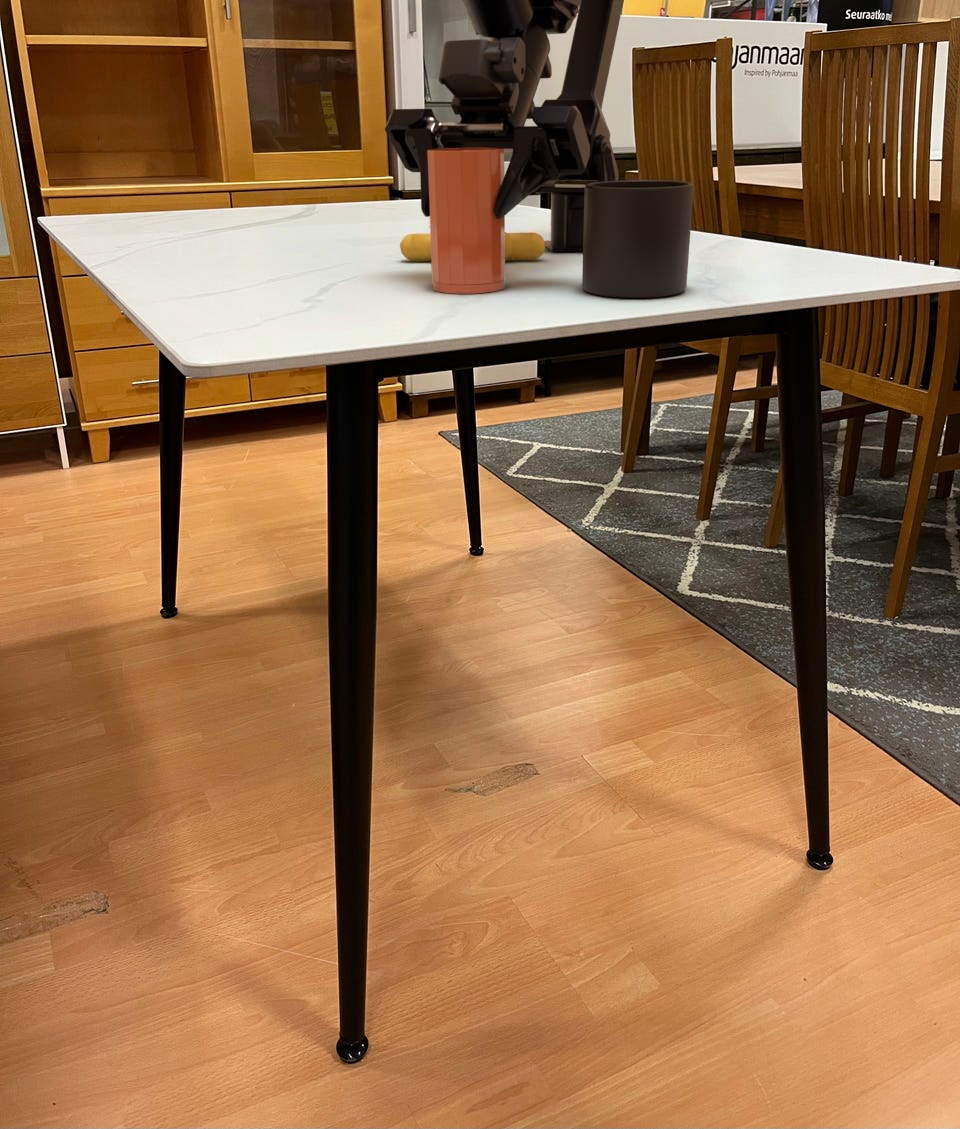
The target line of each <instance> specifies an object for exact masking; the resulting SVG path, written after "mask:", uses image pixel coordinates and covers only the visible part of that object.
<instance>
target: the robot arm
mask: <svg viewBox="0 0 960 1129" xmlns="http://www.w3.org/2000/svg"><path fill="white" fill-rule="evenodd" d="M624 1H625V0H462V2H463V4H464V7H465V10H466V11H467V15H468V17H469V20H470V23H471V25H472V28H473V30H474V33H475V34H476V35H477V36H481V37H484V38H489V40H488V39H482V38H478V39H477V38H476V39H459V40H457V39H455V40H447V41H445V42H444V44H443V49H442V50H443V51H442V55H441V62H440V68H439V74H438V82H439V84H440V85H441V86H443V85H444V86H445V87H446V89H447V90H448V91H449V92H450V94H452V96H453V97H452V100H451V103H450V106H451V109H452V111H453V113H454V115H455V116H457V115H458V116H460V121H459V122H439V121H438V120H437V117H436V115H435V114H434V111H433V109H432V108H393V109H392V111H391V113H390V115H389V117H388V120H387V122H386V125H385V127H384V131H385V133H386V135H387V137H388V138H389V141H390V142H391V144H392V146H393V148H394V150H395V152H396V154H397V156H398V158H399V160H400V162H401V163H402V165H403V167H404V169H405V170H408V171H409V172H411V173H419V176H420V178H419V179H420V180H419V181H420V208H421V212H422V215H423V216H424V217H427V218H429V193H428V167H427V150H428V149H438V148H464V147H495V148H504V154H511V157H510V161H509V163H508V165H507V168H506V171H505V173H504V179H503V182H502V184H501V187H500V190H499V192H498V195H497V199H496V203H495V207H494V214H495V216H496V218H497V219H501V218H503V217H504V216H506V215H507V214H509V213H510V212H511V211H512V210H513V209H514V208H516V207H517V206H518V205H519V204H521V202H522V201H523V200H525V199H527V197H528V196H530V195H531V194H533V193H534V192H535V194H544V193H545V194H547V193H548V194H550V240H544V241H545V248H547V249H548V250H550V251H551V252H574V251H575V252H577V251H579V252H580V251H583V236H584V200H585V186H586V184H566V183H565V184H561V183H556V181H575V182H576V181H579V182H580V181H581V182H587V181H588V182H605V181H619V175H620V174H619V168H618V165H617V161H616V159H615V155H614V150H613V147H612V143H611V132H610V129H609V126H608V124H607V121H606V118H605V115H604V113H603V110H602V109H603V104H604V97H605V94H606V88H607V85H608V84H607V83H608V78H609V73H610V70H611V64H612V59H613V55H614V49H615V45H616V42H617V36H618V30H619V26H620V21H621V17H622V11H623V6H624ZM575 19H576V21H575ZM574 21H575V25H574V30H573V35H572V39H571V45H570V49H569V53H568V54H569V55H568V60H567V64H566V69H565V74H564V78H563V82H562V83H563V84H562V89H561V92H560V94H559V95H558V96H557V97H556V98H555V99H545V100H544V101H543V102H542V104H541V106H536V105H535V102H534V98H535V95H536V93H537V90H538V87H539V83H540V81H541V80H543V79H551V78H552V76H553V71H552V68H553V67H552V63H551V61H550V57H549V55H550V52H551V44H550V43H551V42H550V38H549V37H548V35H563V34H566V33H567V32H568V31H569V30H570V29H571V27H572V25H573V23H574ZM527 120H532V122H533V123H534V124H535V125H526V122H527Z"/></svg>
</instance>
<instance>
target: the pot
mask: <svg viewBox="0 0 960 1129" xmlns="http://www.w3.org/2000/svg"><path fill="white" fill-rule="evenodd" d="M427 167H428V193H429V217H428V218H429V234H430V245H431V260H430V265H431V267H430V268H431V285H432V290H433V291H436V292H438V293H444V294H454V295H474V294H487V293H493V292H497V291H501V290H503V289H505V283H506V282H505V279H506V260H505V231H506V229H505V228H506V222H505V221H506V219H505V216H506V215H505V216H504V217H503V218H501V219H497V218H496V216H495V214H494V207H495V203H496V199H497V195H498V192H499V190H500V187H501V184H502V182H503V179H504V176H505V153H504V148H495V147H464V148H438V149H428V150H427Z"/></svg>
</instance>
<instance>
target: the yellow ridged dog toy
mask: <svg viewBox="0 0 960 1129" xmlns="http://www.w3.org/2000/svg"><path fill="white" fill-rule="evenodd" d="M545 241H546V240H545V239H544V237H543V236H542V235H541V234H539V233H536V232H505V261H508V260H509V261H511V260H512V261H515V260H516V261H518V260H519V261H521V260H523V261H524V260H525V261H527V260H529V261H530V260H532V261H533V260H537V259H539V258H540V257H542V255H544V252H545V250H546V246H545ZM399 249H400V252H401V254H402V256H403V257H404V258H405V259H406V260H409V261H431V245H430V233H409V234H406V235H405V236H404V237H403V238H402V239H401V241H400V244H399Z"/></svg>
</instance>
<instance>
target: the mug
mask: <svg viewBox="0 0 960 1129" xmlns="http://www.w3.org/2000/svg"><path fill="white" fill-rule="evenodd" d="M585 185H586V186H585V200H584V236H583V250H582V276H581V277H582V278H581V286H582V288H583V290H584V291H586V292H587V293H590V294H593V295H596V296H600V297H606V298H619V299H652V298H653V299H655V298H662V297H670V296H674V295H677V294H680V293H682V292H684V291H685V290H686V288H687V284H688V283H687V282H688V271H689V269H688V268H689V257H690V244H691V243H690V242H691V228H692V216H693V215H692V214H693V200H694V191H695V190H694V189H695V188H694V187H695V185H694V183H692V182H689V181H680V180H663V179H661V180H660V179H659V180H658V179H654V180H653V179H643V180H642V179H631V180H630V179H628V180H625V179H624V180H618V181H605V182H598V181H593V182H590V183H586V184H585Z"/></svg>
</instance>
